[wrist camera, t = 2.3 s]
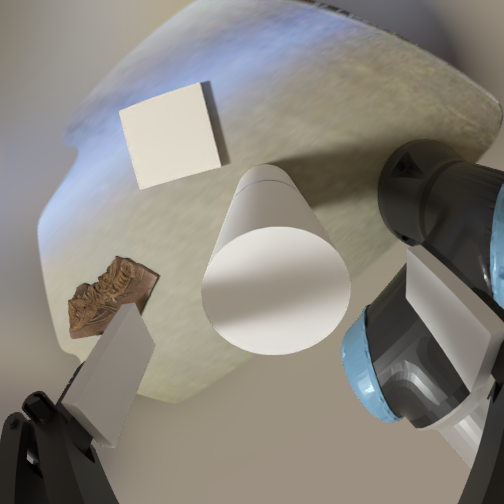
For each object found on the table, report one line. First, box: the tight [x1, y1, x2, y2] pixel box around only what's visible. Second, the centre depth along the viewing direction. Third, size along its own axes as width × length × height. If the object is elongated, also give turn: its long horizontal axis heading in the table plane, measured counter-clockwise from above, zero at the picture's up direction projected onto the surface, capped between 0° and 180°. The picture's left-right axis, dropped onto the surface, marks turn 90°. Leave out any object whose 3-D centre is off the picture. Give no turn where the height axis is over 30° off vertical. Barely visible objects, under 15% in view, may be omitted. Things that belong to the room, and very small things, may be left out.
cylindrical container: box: [201, 164, 351, 355], centre depth 25 cm, size 7×7×25 cm
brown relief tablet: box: [68, 256, 159, 339], centre depth 44 cm, size 26×11×1 cm, turn 122°
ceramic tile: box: [119, 82, 222, 190], centre depth 34 cm, size 11×11×1 cm
